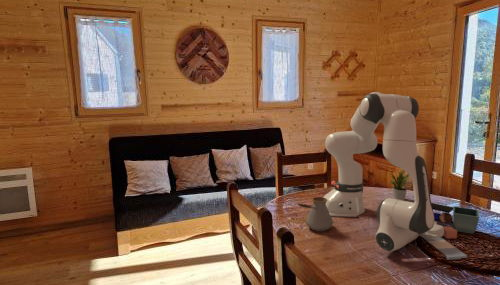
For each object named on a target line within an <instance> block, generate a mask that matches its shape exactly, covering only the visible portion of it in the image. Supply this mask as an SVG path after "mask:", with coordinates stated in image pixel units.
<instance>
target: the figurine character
mask: <svg viewBox="0 0 500 285" xmlns="http://www.w3.org/2000/svg"><path fill="white" fill-rule="evenodd" d="M431 205H432V208H433V211H439V212H442V213H438V212H434V221H436V220H437V221H440V222H442V223H444V224H451V223H453V214H451V213H450V212H453V207H454V206H450V205H443V204H440V203H434V202H431Z"/></svg>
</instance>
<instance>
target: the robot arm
mask: <svg viewBox="0 0 500 285" xmlns="http://www.w3.org/2000/svg"><path fill="white" fill-rule="evenodd" d="M419 111H420V107H419V102H418V101H417V99H415V98H414V97H412V96H408V95H401V94H393V93H389V94H388V93H382V92H380V91H373V92H370V93H368V94H366V95H364V96H363V97H362V98H361V100H360V103H359V106H358V107H357V108H356V110H355V112H354V114H353V116H352V117H351V119H350V123H349V124H350V127H351V130H349V131H348V130H347V131H346V130H345V131H337V132H333V133H330V134H328V135H327V136H326V138H325V142H324V146H325V149H326V151H327V152H328V154H330V155H331V156H332V157H334V159H335V161H336V163H337V169H338V180H337V181H335V180H332V181H331V185H332V186H334V188H333V189H332V190H331V191H329V192H327V193H326V194H324V196H323V198H326V199H327V202H326V206H327V209H328V211H329V214H330V216H331V217H349V218H350V217H353V218H354V217H357V218H358V217H359V216H360V215H361V214H364V213H365V212H366V209H365V206H364V201H363V193H364V182H363V172H364V171H363V166H362V164H360V163H359V162H357V161H356V160H354V155H356V154H366V153H370V152H372V151H374V150H375V149H376V148H377V146H378V137H377V135H376V133H375V131H376V129H377V128H378V126H379V124H382V125H383V135H382V136H383V138H382V139H383V140H382V154H383V156H384V158H385V159H386V160H387V161H388V162H389V163H390V164H392V165H393V166H395V167H397V168H399V169H401V170H402V171H403V172H406V174H409V177H410V179H411V181H412V188H413V190H412V191H413V198H414V202H413V201H408V200H407V201H406V200H404V201H402V200H398V199H394V198H393V197H392V198H391V197H387V198H384V199H383V200H382V201H381V202H380V203H379V204H378V206H377V208H376V218H377V222H378V229H377V232H376V233H375V241H376V243H377V245H378V246H379V247H380V248H381V249H382V250H385V251H387V252H394V251H397V250H400V249H402V248H403V247H405V246H406V245H407V244H409V243H411V242H413V241H414V240H416V239H418V237H419V236H420V237H421V236H423V237H426V238H429V239H437V238H439V237H441V238H443V237H444V236H443V234H444V227H445V226H443V225H440V224H438V221H436V220H435V219H434V213H435V212H434V210H433V208H432V205H431V203H432V199H431V190H430V185H429V184H430V183H429V177H428V176H429V174H428V169H427V164H426V161H425V159H424V157H422V156H421V155H420V154H419V152H418V149H417V122H416V119H417V117H418V114H419ZM423 237H422V238H423Z"/></svg>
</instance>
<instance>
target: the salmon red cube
mask: <svg viewBox="0 0 500 285" xmlns="http://www.w3.org/2000/svg"><path fill="white" fill-rule="evenodd" d="M443 227H444V234H443V236H442V237H444V238H446V239H457V237H458V231H457V230H455V228H453V227H452V226H443Z"/></svg>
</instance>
